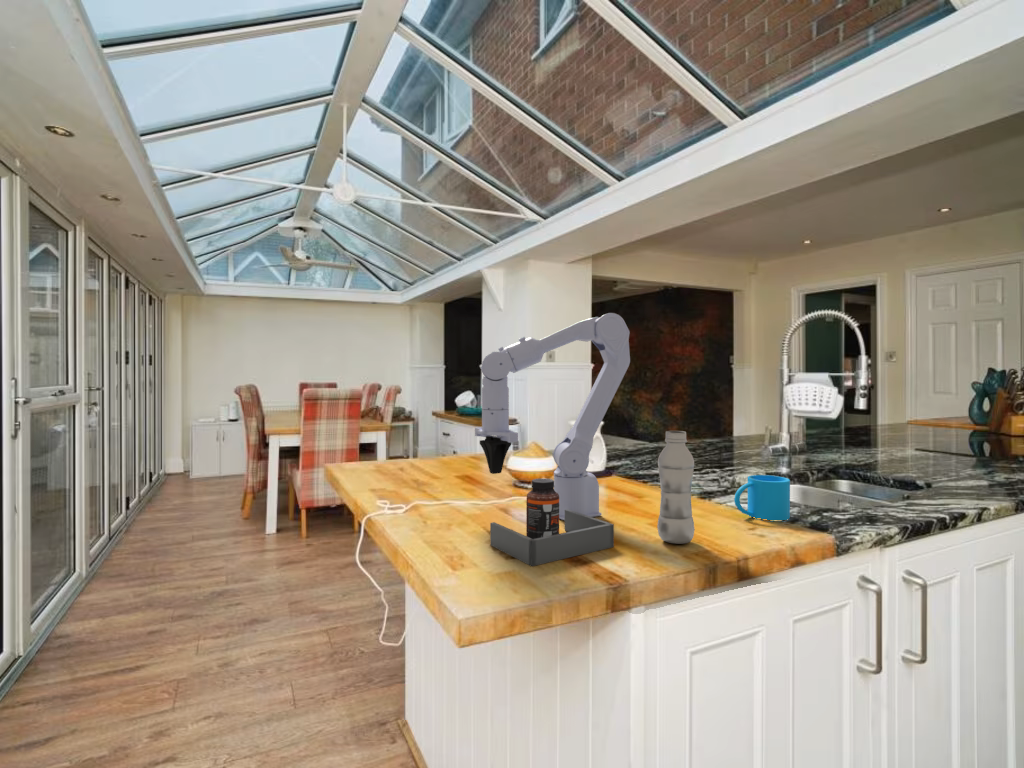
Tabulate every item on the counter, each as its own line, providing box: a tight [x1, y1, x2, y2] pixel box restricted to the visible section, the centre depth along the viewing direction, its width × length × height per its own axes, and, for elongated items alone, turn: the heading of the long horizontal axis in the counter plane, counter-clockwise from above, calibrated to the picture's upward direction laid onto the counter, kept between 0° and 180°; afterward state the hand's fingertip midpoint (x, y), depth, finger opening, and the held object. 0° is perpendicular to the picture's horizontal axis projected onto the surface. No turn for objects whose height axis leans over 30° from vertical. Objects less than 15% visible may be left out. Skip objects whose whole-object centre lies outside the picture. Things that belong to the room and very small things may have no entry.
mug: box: [733, 474, 791, 521], centre depth 116 cm, size 12×8×8 cm
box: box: [489, 509, 615, 567], centre depth 96 cm, size 18×13×4 cm
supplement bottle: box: [525, 478, 560, 539], centre depth 98 cm, size 6×6×11 cm
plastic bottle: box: [657, 430, 695, 545], centre depth 98 cm, size 6×7×20 cm
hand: (495, 473), depth 116 cm, fingers closed
